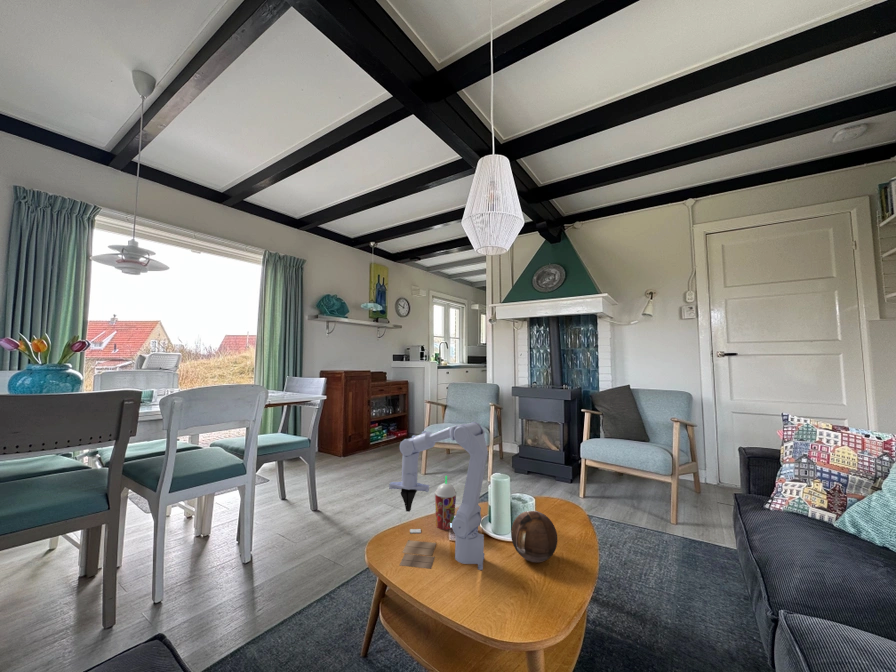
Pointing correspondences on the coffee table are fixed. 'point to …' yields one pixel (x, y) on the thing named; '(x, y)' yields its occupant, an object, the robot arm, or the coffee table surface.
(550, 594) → the coffee table surface
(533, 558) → the wooden sphere
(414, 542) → the board
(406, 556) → the laid board
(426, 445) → the robot arm
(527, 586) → the coffee table surface
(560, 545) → the coffee table surface
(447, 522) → the smoothie
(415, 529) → the light grey block
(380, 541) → the coffee table surface
